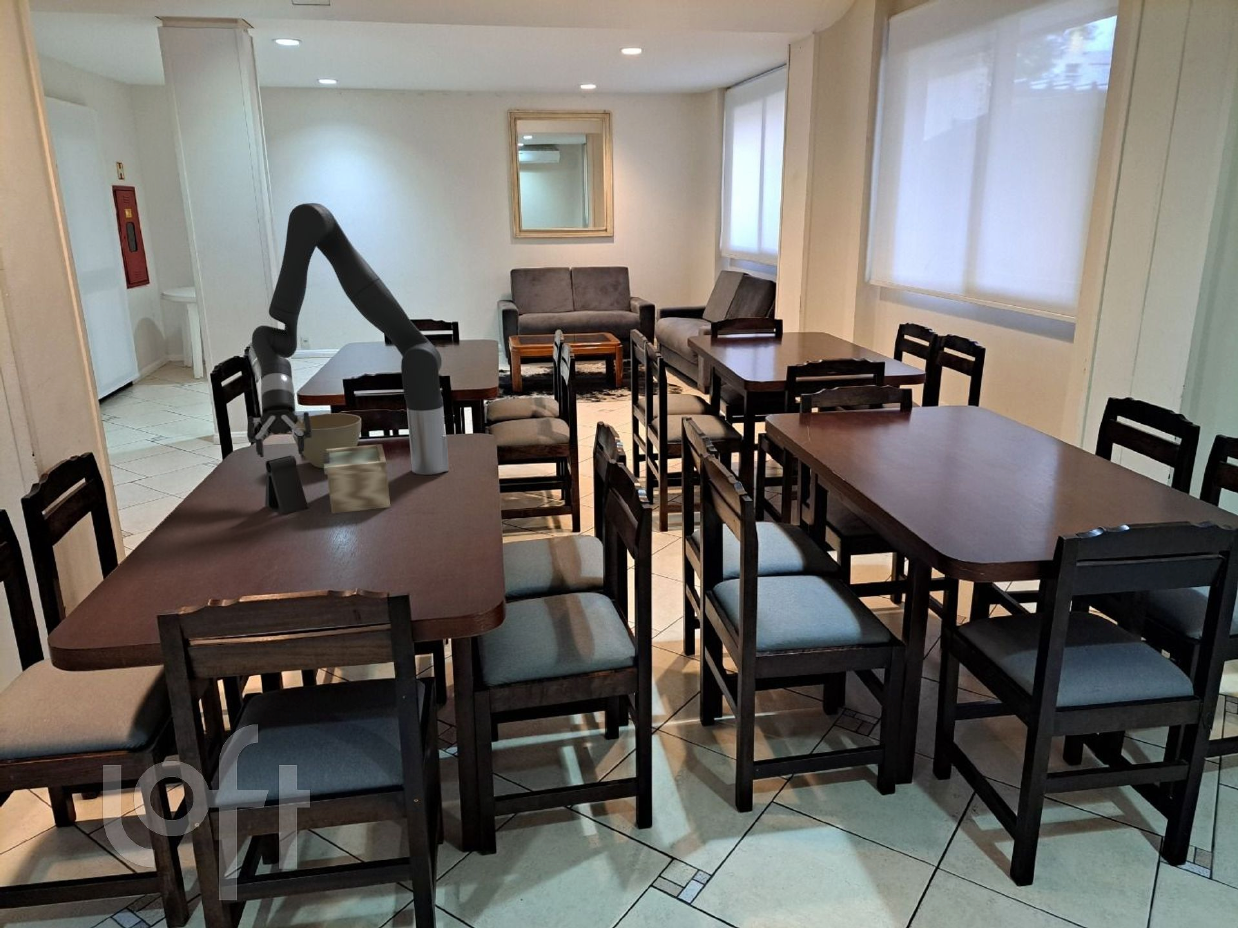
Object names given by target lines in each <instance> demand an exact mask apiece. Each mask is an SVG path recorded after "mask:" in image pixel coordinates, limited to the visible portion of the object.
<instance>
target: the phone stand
mask: <svg viewBox="0 0 1238 928" xmlns="http://www.w3.org/2000/svg"><path fill="white" fill-rule="evenodd" d="M297 464H298V463H297V460H296V457H295V456H294V455H292V454H291V455H287V456H283V457H279V458H273V459H270V460H269V459H268V460H266V461H265V470H266V481H265V483H266V484H265V501H264V506H265V507H266V508H268V509H270V510H272V511H275V512H276V513H279V514H280V513H281V515H283V516H284V515H288V514H292V513H295V512H298V511H299V512H300V511H303V510H307V509H308V508H309V505H308V501H307V499H306V498H307V497H306V494H305V492H304V488H303V484H302V481H301V478H300V475H299V472H298V471H299V470H298V467H297Z"/></svg>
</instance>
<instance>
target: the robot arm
mask: <svg viewBox="0 0 1238 928" xmlns="http://www.w3.org/2000/svg"><path fill="white" fill-rule="evenodd" d="M287 220H288V221H287V227H286V229H287V230H286V237H285V245H284V246H285V247H284V251H283V256H282V262H281V267H280V270H279V274H278V278H277V282H276V285H275V287H274V290H273V295H272V298H271V301H270V304H269V308H268V315H269V317H271V318H272V319H274V321H275V320H276V321H277V322H280V323H282V324H284V329H283V328H279V327H273V326H269V325H258V326H257V327H256V328H255V329H254V330H253V333H252V335H251V344H252V349H253V352H254V354H255V356H256V359H257V361H258V364H259V367H260V374H261V375H260V376H261V377H260V378H261V385H260V395H261V397H260V400H261V401H260V402H261V415H260V417H254V416H252V415H249V416H248V417H247V425H246V426H247V431H246V436H247V439H248V442H249V443H251V444H252V443H255V451H256V454H257V456H260V458H264V456H265V455H264V441H265V440H266V439H268V438H269V437H270V435H271V434H272V435H279V434H283V435H285V434H288V433H290V434H291V435H292V434H293V435H294V436H296V437H297V440H298V446H297V449H298V450H297V451H298V455H303V454H302V452H303V451H304V450H305V444H304V440H305V439H306V438H311V437H312V432H311V425H310V419H309V416H310V413H309V412H307V411H305V412H303V414H297V413H296V403H295V401H296V400H295V388H294V383H293V374H292V373H293V372H292V364H291V362H290V361H289V360H288V358H292V356H293V355H294V354H295V353H296V352H297V348H298V323H299V322H298V321H299V316H300V312H301V309H302V307H303V306H302V305H303V304H304V300H305V296H306V292H307V283H308V272H309V268H310V262H311V259H312V257H313V254H314V252H315V250H316V248H317V249H318V250H319V251H320V252H321V254H322V255H323V256H324V257H325V258H326V260H327V261H328V262H329V263H330V266H331V267H332V269H333V272H334V273H335V275H336V277H337V280H338V282H339V284H340V287H341V288H342V290H343V292H344V294H345V296H347V298H348V299H349V301H350V302H351V303H352V304H353V306H354V307H355V309H356V310H357V311H358V312H359V313H360V314H361V315H362V316H363V318H364V319H366V321H368V322H369V323H370V324H372V325H373V326H374V327H375V328H376V329H377V330H379V331H380V332H381V333H382V334H383V335H385V336H386V337H387V338H388V340H390V341H391V343H392V344H393V345H394V346H395V347H396V350H397V351H398V352H399V353H400V355H401V357H402V358H401V362H400V363H401V364H400V367H401V368H400V369H401V370H400V371H401V380H402V381H401V382H402V388H403V390H402V391H403V396H404V400H405V403H406V414H407V415H406V416H407V425H408V426H407V427H408V437H409V449H410V450H409V451H410V463H411V465H410V466H411V469H412V470H411V471H412V473H413V474H416V475H424V476H425V475H428V476H429V475H430V476H431V475H437V474H441V473H443V472H449V471H450V467H449V454H448V453H449V452H448V441H447V435H446V428H445V417H444V416H445V413H444V400H443V399H444V398H443V396H442V394H441V385H440V375H439V371H440V370H441V368H442V362H443V361H442V355H441V354H440V352H439V350H438V349H437V348H436V346H434V345H433V343H432V342H431V341H430V340H429V339H428V338H427V337H426V336H425V335H424V334H423V333H422V332H421V331H420V330H419V328H417V326H416V325H415V324H414V322H412V321H411V318H409V316H408V315H407V313H406V311H405V310H404V308H402V306H401V304H400V303H399V301H397V298H395V296H394V295H393V294H392V292H391V290H389V288H388V286H386V284H385V283H384V281H383V280H382V279H381V278H380V276H379V275H378V274H377V273H376V272H375V270H374V269H373V268H372V267H371V265H370V264H369V263H368V262H367V261H366V259H364V257H363V255H362V254H360V253H359V252H358V250H357V249H356V248H355V247H354V246H353V244H352V242H351V241H350V240H349V237H347V235H346V234H345V232H344V230H343V229H342V227H341V226H340V224H339V222H338V220H337V219H336V217H334V215H333V213H332V211H331V210H329V209H328V208H327V207H326V206H324V205H323V204H320V203H318V202H317V203H315V202H309V203H308V202H307V203H301V204H298V205H297V206H294V207H293V208H292V210H291V212H290V213H289V215H288V219H287ZM298 420H300V421H301V423H303V424H305V428H306V431H303V432H302V431H301V430H300V429H299V428H298V427H297V426H296V425H295V424H296V423H297V422H298ZM259 424H260V425H262V427H260V430H259V432H257V434H255V429H256V428H257V427H258V425H259ZM293 435H292V436H293Z"/></svg>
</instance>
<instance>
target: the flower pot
mask: <svg viewBox="0 0 1238 928" xmlns="http://www.w3.org/2000/svg"><path fill="white" fill-rule="evenodd" d="M309 419H310V425H311V432H312V437H311V438H306V439H305V440H304V444H305V450H304V451H303V452H302V454H301V455H302V456H304V457H305V459H306V460H307V461H308V462H309V463H310V464H312V465H313V467H316V468H320V469H324V459H323V457H324V453H327V451H326V449H333V448H344V447H355V446H358V443H359V440H360V438H361V437H360V436H361V429H362V418H361V417H360V416H359V415H355V414H349V413H320V414H313V415H309ZM295 425H296V426H297V427H298V428H299V429H300V430H301V431H302V432H303V431H306V428H305V424H303V423H301V421H300V420H298V422H297V423H296V424H295ZM291 435H292V438H293V440H294V441H295V444H296V447H298V440H297V437H296V436H294V435H293V434H292V433H291Z"/></svg>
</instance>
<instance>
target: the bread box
mask: <svg viewBox="0 0 1238 928" xmlns="http://www.w3.org/2000/svg"><path fill="white" fill-rule="evenodd" d="M326 451H327V453H324V457H323V459H324V468H323V471H324V472H323V473H324V475H327V484H328V491H329V492H328V493H329V501H330V509H331V514H340V513H341V514H342V513H349V512H357V511H358V512H359V511H366V510H375V509H376V510H377V509H384V508H390V507H391V503H390V502H391V499H390V490H389V481H388V480H389V479H388V469H387V461H386V456H385V452H384V448H383V444H382V443H381V444H380V443H379V444H368V445H357V446H355V447H344V448H333V449H326Z"/></svg>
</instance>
